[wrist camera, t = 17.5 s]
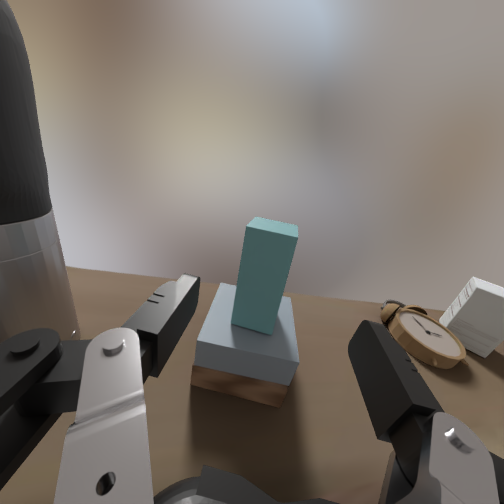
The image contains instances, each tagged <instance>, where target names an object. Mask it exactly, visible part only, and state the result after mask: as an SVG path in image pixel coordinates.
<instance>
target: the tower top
mask: <svg viewBox="0 0 504 504" xmlns="http://www.w3.org/2000/svg"><path fill="white" fill-rule="evenodd" d="M235 293H236V286H234V285H229V284H225V283H221V284H220V286H219V289H218V291H217V293H216V296H215V298H214V301H213V303H212V305H211V308H210V310H209V312H208V315H207V317H206V320H205V322H204V324H203V327H202V329H201V332H200V334H199V336H198V339H197V344H196V353H195V361H194V365H196V366H201V367H205V368H210V369H214V370H219V371H224V372H228V373H233V374H237V375H242V376H246V377H251V378H255V379H260V380H265V381H269V382H274V383H278V384H283V385H287V386H289V385H290V383H291V380H292V378H293V376H294V374H295V371H296V369H297V367H298V365H299V356H298V348H297V341H296V334H295V327H294V320H293V312H292V305H291V298H288V297H284V296H282V299H281V303H280V307H279V310H278V314H277V318H276V321H275V325H274V329H273V333H272V335H269V334H266V333H262V332H259V331H255V330H252V329H248V328H245V327H241V326H238V325H234V324H231V317H232V311H233V305H234V299H235Z"/></svg>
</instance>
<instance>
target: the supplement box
mask: <svg viewBox="0 0 504 504" xmlns="http://www.w3.org/2000/svg"><path fill="white" fill-rule="evenodd" d="M439 323H441V324H442V325H443V326H445V327H446V328H447V329H448V330H450V331H451V332H452V333H453V334H454V335H455V336H456V337H457V338H458V339H459V340H460V342H461V343H462V344H463V346H464V347H465V348H466V349H468V350H470V351H472V352H474V353H476V354H478V355H479V356H481V357H483V358H486V357H487V356H488V355H489V354H490V353H491V352H492V351H493V350H494V349H495V348H496V347H497V346H498V345H499V344H500V343H501V342H502V341H503V340H504V288H503V287H500V286H498V285H495V284H492V283H489V282H487V281H484V280H481V279H478V278H475V277H472V278H471V279H470V281H469V282H468V283H467V285H466V286H465V287H464V288H463V290H462V291H461V293H460V294H459V295H458V296H457V298H456V299H455V300H454V302H453V303H452V304H451V305H450V307H449V308H448V309H447V311H446V312H445V313H444V314H443V316H442V317H441V318H440V320H439Z"/></svg>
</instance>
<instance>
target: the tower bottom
mask: <svg viewBox="0 0 504 504" xmlns="http://www.w3.org/2000/svg"><path fill="white" fill-rule="evenodd" d="M190 385H194V386H198V387H202V388H205V389H209V390H213V391H217V392H221V393H224V394H228V395H232V396H236V397H240V398H243V399H247V400H251V401H255V402H259V403H262V404H266V405H270V406H274V407H278V408H280V406H281V404H282V402H283V400H284V397H285V395H286V393H287V391H288V386H287V385H283V384H278V383H274V382H269V381H265V380H260V379H255V378H251V377H246V376H242V375H237V374H233V373H228V372H224V371H219V370H214V369H210V368H205V367H201V366H196V365H194V363H193V366H192V375H191V384H190Z"/></svg>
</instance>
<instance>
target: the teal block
mask: <svg viewBox="0 0 504 504" xmlns="http://www.w3.org/2000/svg"><path fill="white" fill-rule="evenodd" d="M297 240H298V226H297V225H293V224H288V223H283V222H278V221H274V220H269V219H265V218H260V217H255V218H254V219H253V220H252V221H251V222H250V223H249V224H248V225H247V226H246V231H245V237H244V243H243V249H242V256H241V262H240V268H239V274H238V281H237V286H236V293H235V299H234V305H233V311H232V317H231V324H234V325H238V326H241V327H245V328H248V329H252V330H255V331H259V332H262V333H266V334H269V335H272V333H273V329H274V325H275V321H276V318H277V314H278V310H279V307H280V303H281V299H282V295H283V292H284V288H285V284H286V280H287V277H288V273H289V269H290V266H291V262H292V258H293V254H294V251H295V247H296V243H297Z"/></svg>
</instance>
